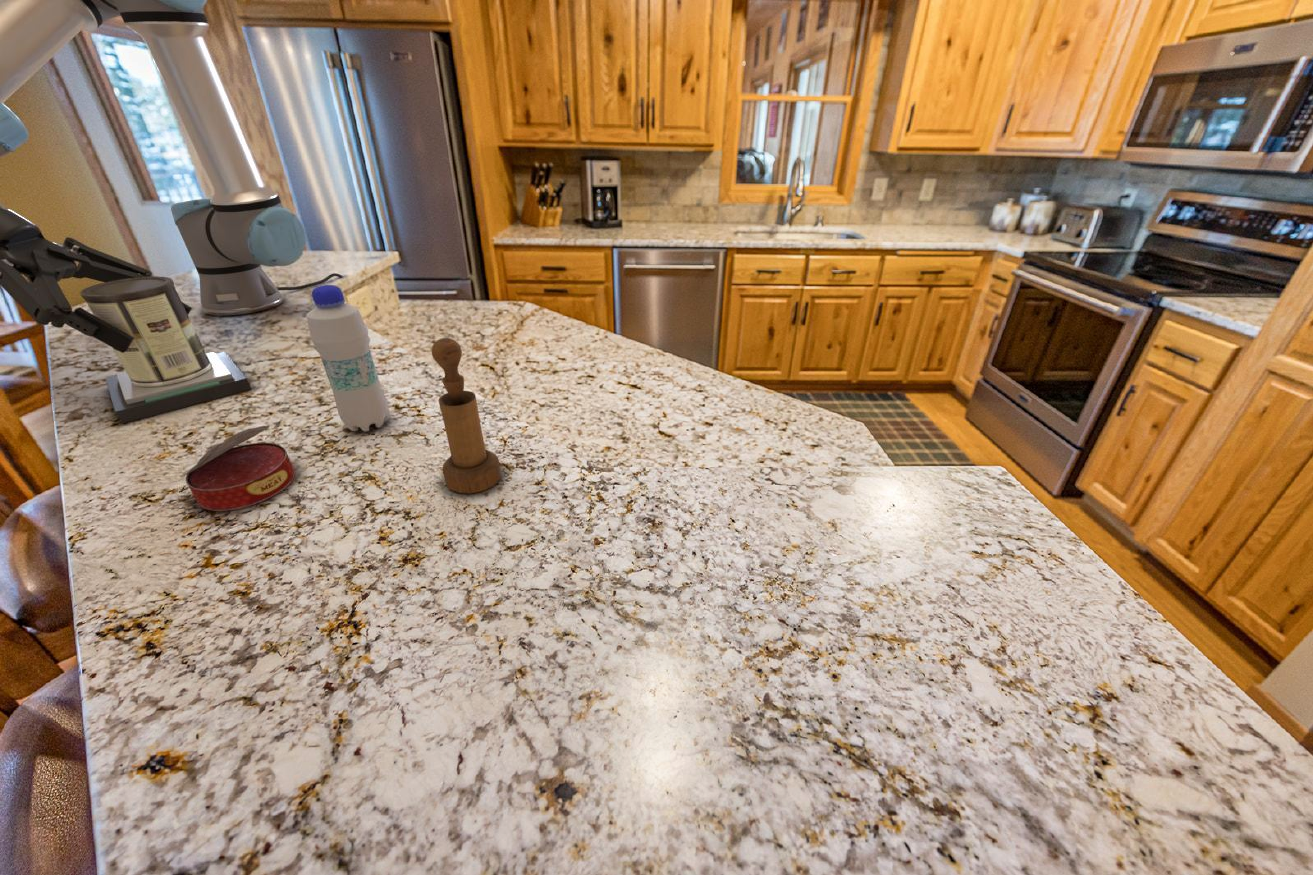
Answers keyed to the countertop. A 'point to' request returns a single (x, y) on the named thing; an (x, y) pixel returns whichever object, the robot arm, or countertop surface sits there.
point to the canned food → (239, 473)
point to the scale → (176, 390)
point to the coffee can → (150, 329)
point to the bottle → (347, 359)
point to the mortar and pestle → (463, 428)
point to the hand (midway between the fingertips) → (160, 329)
